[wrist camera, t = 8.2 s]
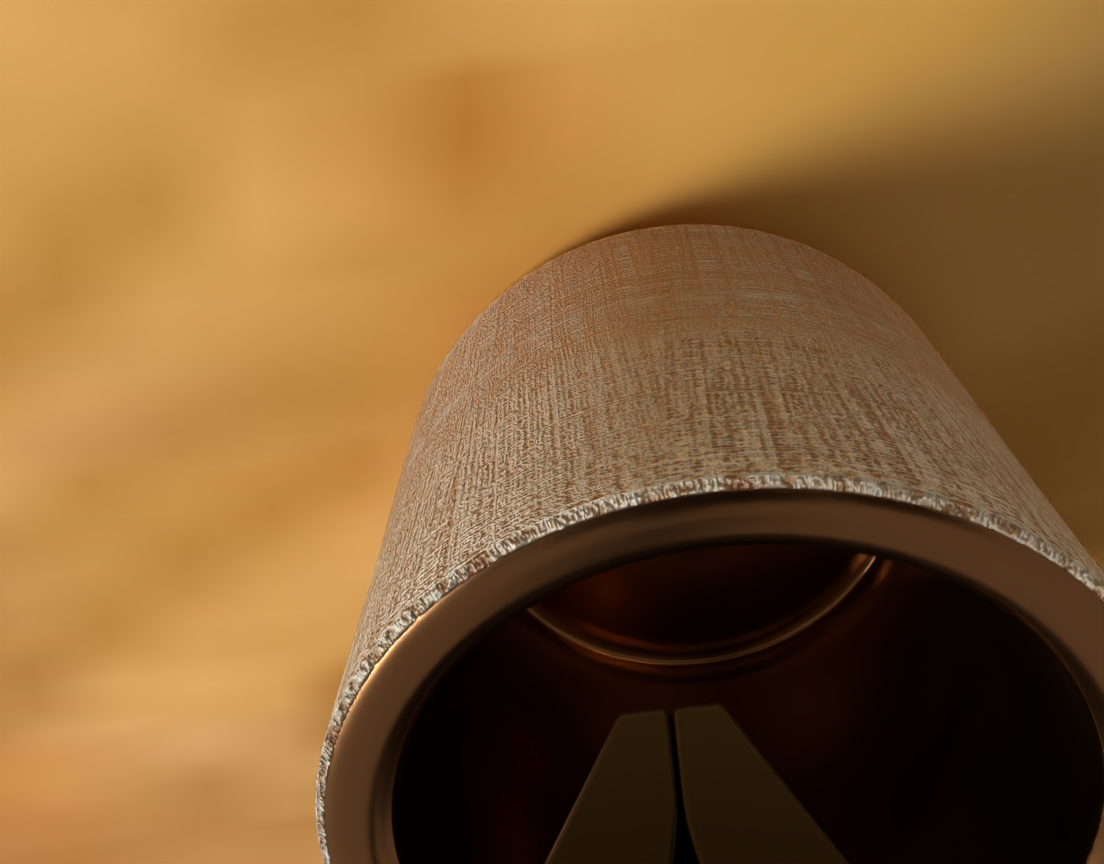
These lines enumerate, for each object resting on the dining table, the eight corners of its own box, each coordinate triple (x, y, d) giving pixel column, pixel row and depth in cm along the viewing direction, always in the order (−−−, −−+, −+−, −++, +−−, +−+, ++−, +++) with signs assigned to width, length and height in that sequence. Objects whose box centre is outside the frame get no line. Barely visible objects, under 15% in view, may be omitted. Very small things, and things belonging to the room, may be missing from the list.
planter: (800, 727, 24) (919, 1172, 16) (357, 595, 23) (225, 1006, 14) (1053, 324, 20) (1420, 650, 11) (514, 125, 18) (453, 322, 10)
